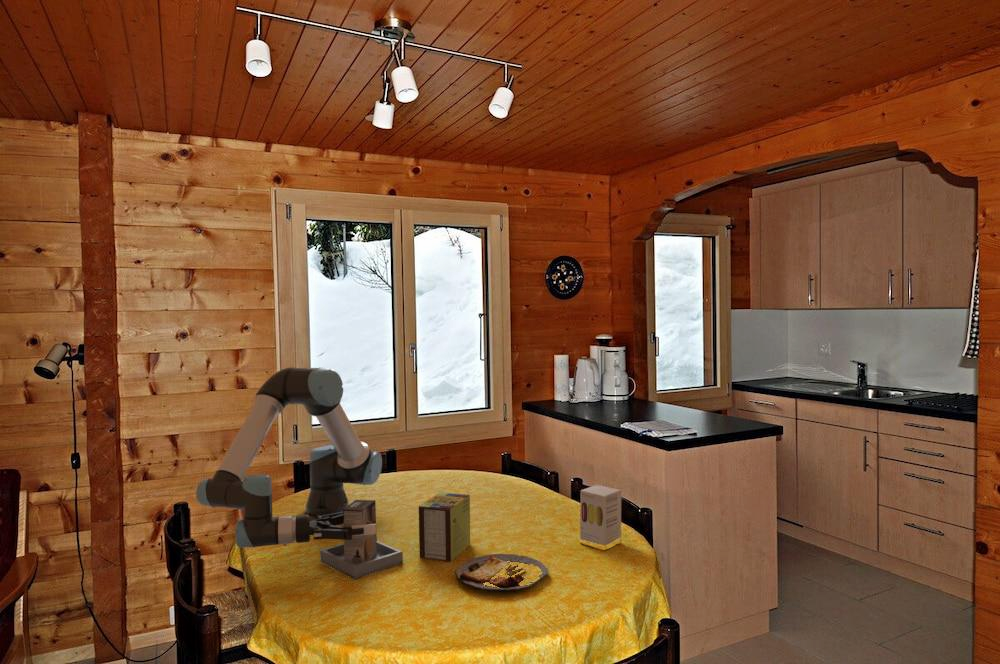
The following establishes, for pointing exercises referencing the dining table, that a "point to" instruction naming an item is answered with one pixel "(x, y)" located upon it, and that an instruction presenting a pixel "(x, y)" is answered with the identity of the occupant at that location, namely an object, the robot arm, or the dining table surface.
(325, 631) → the dining table surface
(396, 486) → the dining table surface
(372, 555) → the coffee box
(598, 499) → the supplement box
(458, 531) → the protein box
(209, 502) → the robot arm
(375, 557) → the tray
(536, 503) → the dining table surface
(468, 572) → the food plate
